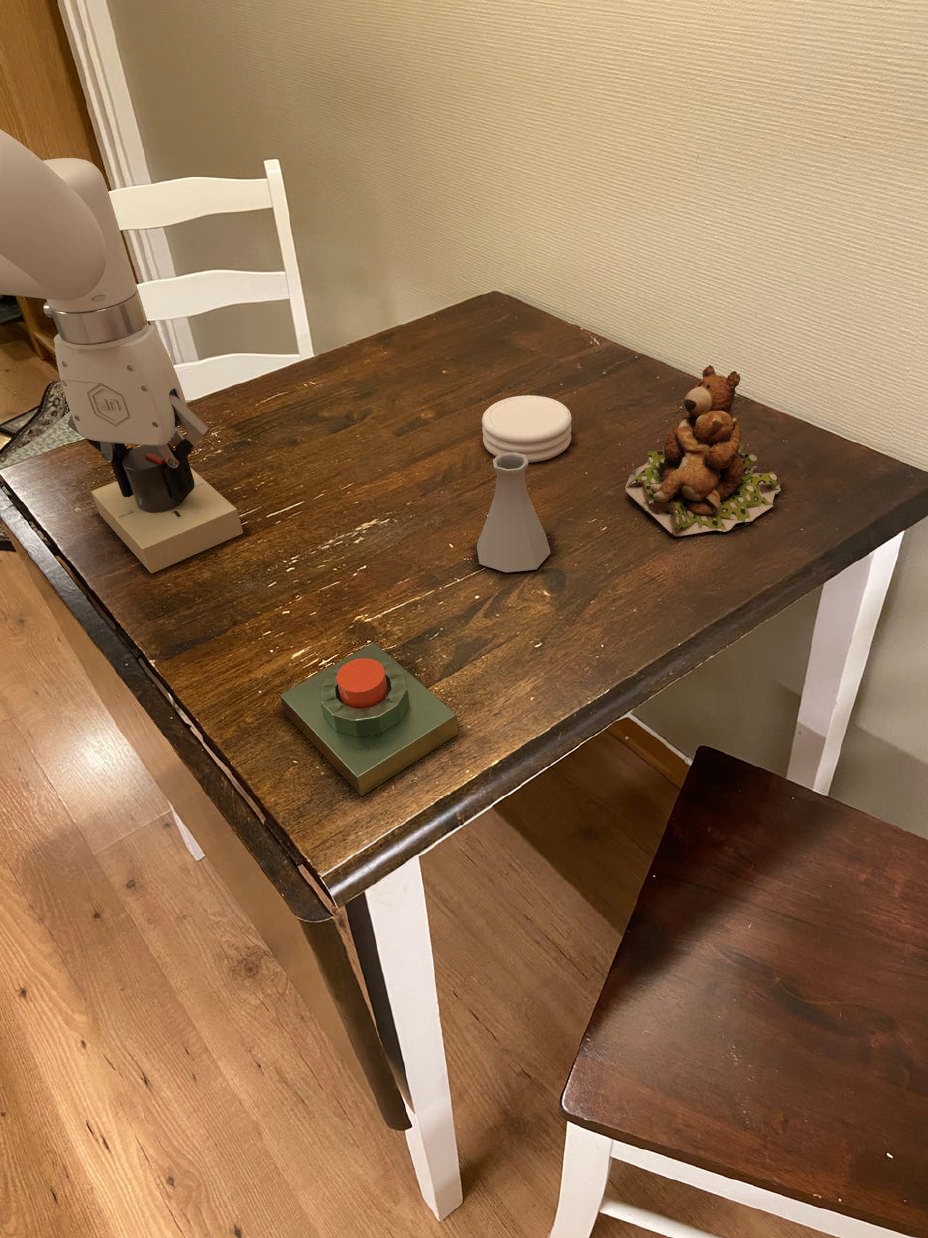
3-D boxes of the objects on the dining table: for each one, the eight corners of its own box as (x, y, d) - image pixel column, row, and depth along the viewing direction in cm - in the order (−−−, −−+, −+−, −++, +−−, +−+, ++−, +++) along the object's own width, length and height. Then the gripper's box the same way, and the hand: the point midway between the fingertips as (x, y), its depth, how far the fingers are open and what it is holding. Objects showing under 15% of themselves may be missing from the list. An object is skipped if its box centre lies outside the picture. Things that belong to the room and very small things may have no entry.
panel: (99, 514, 94) (90, 489, 92) (186, 480, 99) (178, 455, 96) (151, 574, 85) (141, 547, 83) (243, 533, 90) (236, 507, 88)
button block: (284, 714, 70) (274, 678, 67) (377, 661, 74) (371, 625, 71) (361, 797, 63) (353, 760, 61) (459, 734, 67) (455, 697, 65)
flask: (468, 571, 83) (461, 479, 76) (484, 527, 88) (479, 438, 81) (544, 578, 81) (543, 485, 75) (556, 533, 86) (557, 442, 80)
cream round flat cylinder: (465, 441, 101) (463, 413, 99) (531, 412, 106) (531, 385, 103) (521, 474, 95) (520, 446, 93) (589, 443, 99) (590, 414, 97)
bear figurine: (597, 491, 92) (602, 382, 84) (704, 446, 97) (718, 339, 89) (690, 554, 83) (705, 438, 75) (802, 499, 88) (827, 386, 80)
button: (330, 690, 67) (327, 673, 65) (370, 667, 68) (367, 651, 67) (357, 716, 64) (353, 699, 63) (397, 692, 66) (394, 675, 65)
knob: (126, 503, 90) (109, 458, 86) (165, 481, 93) (150, 436, 89) (158, 518, 87) (142, 471, 84) (196, 494, 90) (182, 448, 87)
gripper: (-8, 330, 77) (66, 505, 89) (164, 339, 73) (218, 521, 85) (43, 297, 82) (106, 466, 94) (207, 304, 78) (251, 480, 90)
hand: (159, 491), depth 89 cm, fingers closed on knob, 5 cm apart
